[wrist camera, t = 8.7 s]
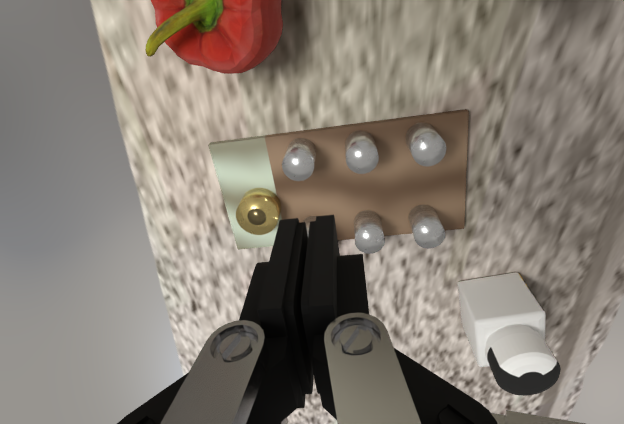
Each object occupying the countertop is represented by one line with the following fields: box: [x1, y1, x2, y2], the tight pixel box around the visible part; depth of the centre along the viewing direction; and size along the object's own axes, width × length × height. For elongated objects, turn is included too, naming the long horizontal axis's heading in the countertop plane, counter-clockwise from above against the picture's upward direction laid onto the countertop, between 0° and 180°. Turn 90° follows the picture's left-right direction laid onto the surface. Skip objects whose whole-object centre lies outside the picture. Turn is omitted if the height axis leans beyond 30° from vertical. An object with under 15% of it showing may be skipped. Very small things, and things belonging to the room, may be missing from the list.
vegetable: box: [146, 0, 283, 73], centre depth 30 cm, size 11×10×10 cm
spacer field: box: [282, 123, 446, 254], centre depth 39 cm, size 12×15×4 cm
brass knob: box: [236, 188, 281, 235], centre depth 42 cm, size 4×4×2 cm
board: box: [209, 109, 469, 249], centre depth 41 cm, size 13×26×1 cm, turn 99°
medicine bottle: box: [458, 272, 560, 395], centre depth 43 cm, size 7×7×12 cm
